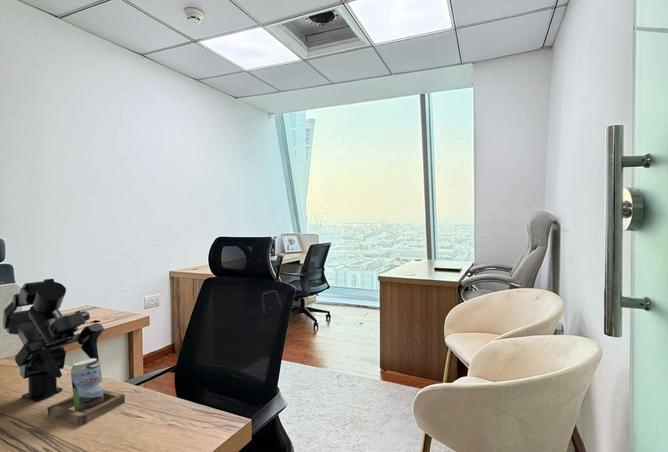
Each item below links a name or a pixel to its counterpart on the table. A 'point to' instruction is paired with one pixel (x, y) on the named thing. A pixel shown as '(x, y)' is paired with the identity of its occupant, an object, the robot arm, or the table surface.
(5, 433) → the table surface
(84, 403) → the beverage can
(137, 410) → the table surface
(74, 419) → the walnut collar
